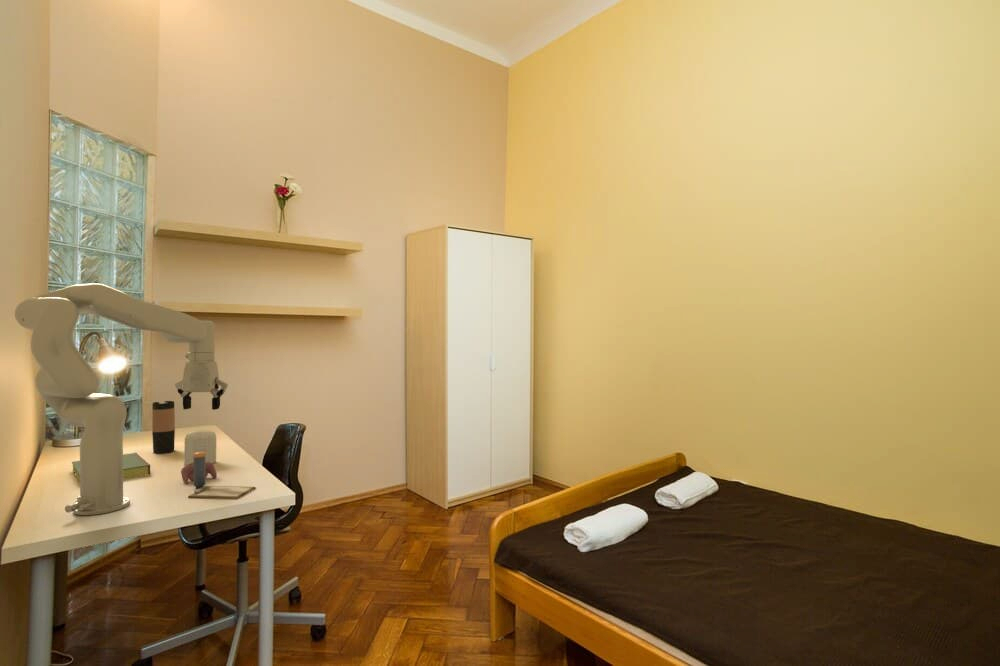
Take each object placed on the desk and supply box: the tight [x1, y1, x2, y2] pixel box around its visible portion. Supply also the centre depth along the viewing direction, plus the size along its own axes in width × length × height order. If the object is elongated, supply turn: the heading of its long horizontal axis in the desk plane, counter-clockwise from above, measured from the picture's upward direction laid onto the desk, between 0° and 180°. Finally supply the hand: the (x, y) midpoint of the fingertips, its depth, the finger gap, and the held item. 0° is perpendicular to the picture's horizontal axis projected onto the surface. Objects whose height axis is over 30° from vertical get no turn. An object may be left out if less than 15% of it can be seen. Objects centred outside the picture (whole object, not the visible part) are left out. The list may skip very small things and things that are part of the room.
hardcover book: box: [71, 452, 151, 483], centre depth 181 cm, size 25×19×4 cm
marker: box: [193, 452, 206, 490], centre depth 163 cm, size 3×3×11 cm
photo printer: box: [183, 429, 217, 466], centre depth 192 cm, size 10×4×12 cm, turn 113°
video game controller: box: [180, 461, 217, 485], centre depth 173 cm, size 10×5×7 cm, turn 135°
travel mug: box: [151, 400, 176, 455], centre depth 211 cm, size 8×8×20 cm
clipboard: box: [187, 485, 256, 500], centre depth 158 cm, size 10×15×1 cm, turn 86°
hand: (201, 409), depth 174 cm, fingers open, 9 cm apart
